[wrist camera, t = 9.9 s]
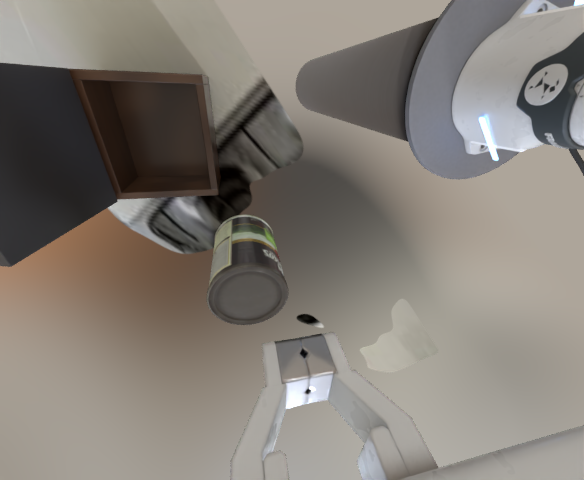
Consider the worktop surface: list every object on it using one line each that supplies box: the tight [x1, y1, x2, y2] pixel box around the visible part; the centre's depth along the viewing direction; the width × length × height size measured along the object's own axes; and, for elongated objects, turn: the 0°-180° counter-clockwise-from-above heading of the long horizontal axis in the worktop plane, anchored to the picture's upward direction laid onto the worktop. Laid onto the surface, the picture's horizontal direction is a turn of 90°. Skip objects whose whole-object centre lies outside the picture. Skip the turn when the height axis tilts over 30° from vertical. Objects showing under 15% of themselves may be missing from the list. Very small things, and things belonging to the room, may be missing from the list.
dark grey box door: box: [0, 63, 117, 267], centre depth 20 cm, size 12×13×1 cm
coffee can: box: [207, 215, 288, 325], centre depth 37 cm, size 10×10×14 cm
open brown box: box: [69, 69, 221, 199], centre depth 29 cm, size 12×13×7 cm
